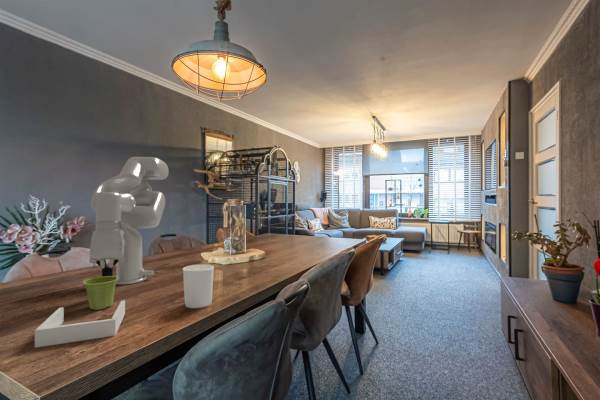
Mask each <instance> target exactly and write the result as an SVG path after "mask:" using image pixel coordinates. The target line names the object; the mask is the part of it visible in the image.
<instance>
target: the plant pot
mask: <svg viewBox="0 0 600 400" xmlns="http://www.w3.org/2000/svg"><path fill="white" fill-rule="evenodd" d="M117 280H118V277H116V275H115V276H104V277H102V276H97V277H93V278H92V277H91V278H89V279H85V280H83V282H82V284H83V285H84V288H85V289H86V294H87V300H88V306H89V310H94V311H99V310H105V309H107V307H109V308H110V307H112V305H113V304H114V296H115V289H116V285H117V284H116V282H117Z"/></svg>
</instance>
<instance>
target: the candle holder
mask: <svg viewBox="0 0 600 400" xmlns="http://www.w3.org/2000/svg"><path fill="white" fill-rule="evenodd" d="M214 269H215V266H214V265H212V264H207V263H205V264H204V263H203V264H191V265H187V266H185V267H183V268H182V275H183V277H182V278H183V292H184V293H183V294H184V295H183V296H184V305H185V307H186V308H189V309H201V308H205V307H209V306H210V305H211V304H212V303H213V302H212V301H213V286H214V272H215V270H214Z"/></svg>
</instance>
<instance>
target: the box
mask: <svg viewBox="0 0 600 400" xmlns="http://www.w3.org/2000/svg"><path fill="white" fill-rule="evenodd" d="M64 312H65V309H64V307H59V308H57V309H56V310H55V311H54V312H53V313H52V314H51V315H50V316H49V317H48V318H46V319H45V321H43V322H42V323H41V324H40V325H38V327H37V328H36V329H35V330H34V348H42V347H48V346H49V347H50V346H54V345H55V346H56V345H61V344H69V343H74V342H81V341H87V340H96V339H102V338H108V337H113V336H114V337H115V336H116V335H117V332H118V330H119V328H120V326H121V323H122V322H123V319H124V317H125V314H126V300H125V299H124V300H120V302H119V304H118V306H117V308H116V310H115V311H114V313H113V315H112V317H111V318H107V319H102V320H99V319H98V320H93V321H86V322H77V323H70V324H69V323H68V324H63V323H64V322H65V320H64V319H65V317H64V314H65V313H64Z"/></svg>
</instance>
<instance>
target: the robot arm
mask: <svg viewBox="0 0 600 400" xmlns="http://www.w3.org/2000/svg"><path fill="white" fill-rule="evenodd" d="M169 173H170V172H169V167H168V165H167V163H166V162H165V161H163V160H161V158H159V157H154V156H132V157H129V158H128V159H127V160H126V161H125V164H124V166H123V167H122V170H121V171H120V173H119V174H118V175H116V176H113V177H111V178H109V179H106V180H105V181H103V182H102V183H100V184H99V185H98V186H97V187H96V189H95V190H94V192H93V194H92V197H91V199H90V206H91V209H92V210H93V211H94V212H95V230H93V231H92V235H91V241H90V248H89V257H90V258H89V264H94V265H95V264H96V265H98V266H99V267H100V268H101V277H104V276H113V275H114V274H113V273H114V267H115V266H116V267H115V269H116V270H115V271H116V275H115V276H116V277H118V280H117V282H116V285H118V286H119V285H130V284H131V285H132V284H137V283H142V282H143V281H145V280H147V276H153V275H155V271H154V270H152V269H148V270H145V268H144V267H143V237H142V235H141V233H140V232H139V231H138V230H137V229H153V228H156V227H158V226H159V225H160V222H161V220H162V216H163V213H164V211H165V207H166V197H165V195H164V193H163V192H161V191H159V190H158V191H157V190H153V188H152V186H151V185H150V183H148V182H147V181H146V180H154V181H156V180H158V181H159V180H161V181H162V180H166V179H167V178H168V177H169ZM127 192H128V193H127ZM107 260H109V262H108V263H109V264H107Z"/></svg>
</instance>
